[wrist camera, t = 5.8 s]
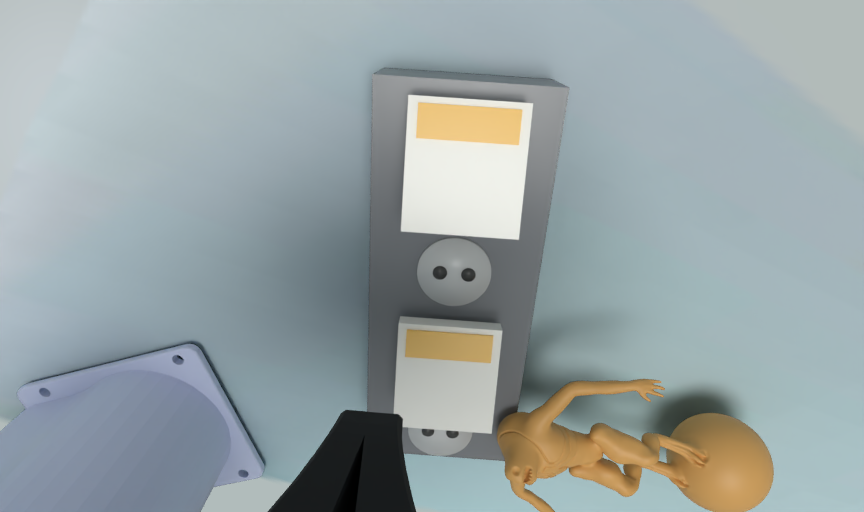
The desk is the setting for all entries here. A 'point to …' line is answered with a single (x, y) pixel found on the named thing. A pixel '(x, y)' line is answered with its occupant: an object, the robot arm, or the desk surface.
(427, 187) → the near rocker
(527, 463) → the figurine
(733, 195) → the desk surface
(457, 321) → the far rocker
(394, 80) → the power strip
